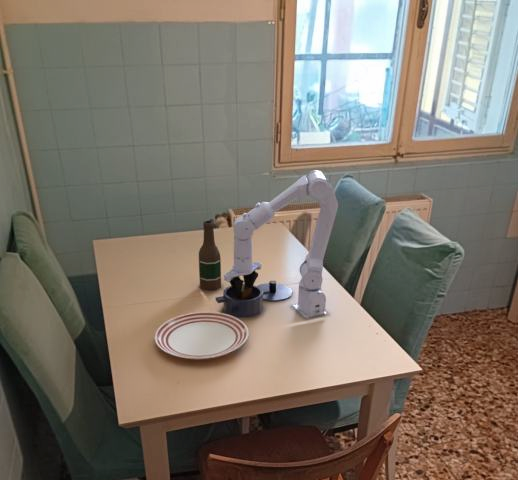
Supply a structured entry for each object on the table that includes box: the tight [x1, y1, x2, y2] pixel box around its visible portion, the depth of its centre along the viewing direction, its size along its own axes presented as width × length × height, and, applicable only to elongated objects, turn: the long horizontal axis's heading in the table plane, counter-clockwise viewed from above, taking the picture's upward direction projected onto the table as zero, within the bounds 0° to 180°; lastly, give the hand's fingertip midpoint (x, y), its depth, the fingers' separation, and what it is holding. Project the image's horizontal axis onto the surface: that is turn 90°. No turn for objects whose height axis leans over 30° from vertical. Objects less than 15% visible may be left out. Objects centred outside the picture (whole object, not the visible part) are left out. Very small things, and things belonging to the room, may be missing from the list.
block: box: [234, 283, 252, 300], centre depth 182 cm, size 4×4×4 cm
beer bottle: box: [198, 220, 222, 292], centre depth 193 cm, size 8×8×24 cm
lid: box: [256, 280, 293, 302], centre depth 195 cm, size 14×14×5 cm
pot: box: [215, 284, 270, 319], centre depth 184 cm, size 13×18×6 cm
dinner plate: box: [154, 311, 250, 360], centre depth 167 cm, size 28×27×3 cm
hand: (243, 295), depth 183 cm, fingers closed on block, 4 cm apart
